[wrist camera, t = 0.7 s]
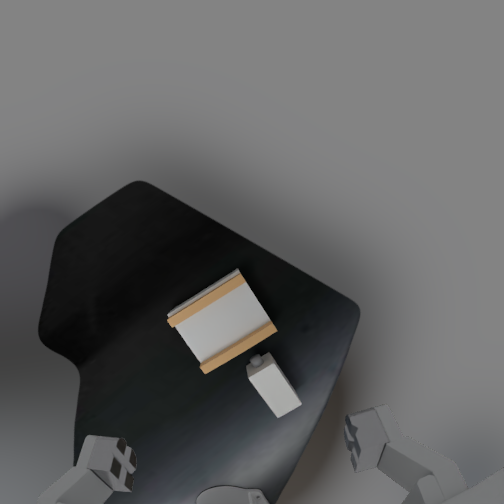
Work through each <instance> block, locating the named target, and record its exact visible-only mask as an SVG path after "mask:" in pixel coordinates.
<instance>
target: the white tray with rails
mask: <svg viewBox="0 0 504 504" xmlns="http://www.w3.org/2000/svg"><path fill="white" fill-rule="evenodd" d="M168 317H169V318H168V319H167V321H168V322H169V324H170V325H171V327H172V328H173V327H174V326H175V327H176V329H177V330H178V331H179V333H180V334H181V336H182V337H183V339H184V340H185V342H186V343H187V345H188V346H189V347H190V349H191V350H192V352H193V353H194V354H195V356H196V357H197V359H198V360H199V361H200V363H201V364H200V368H201V369H202V371H203V372H204V373H205V374H206V373H208V372H210V371H212V370H213V369H215V368H217V367H219V366H220V365H222V364H224V363H226V362H227V361H229V360H231V359H232V358H234V357H236V356H237V355H239V354H241V353H242V352H244V351H246V350H247V349H249V348H251V347H252V346H254V345H256V344H257V343H259V342H260V341H262V340H264V339H265V338H267V337H268V336H270V335H272V334H273V333H275V332H276V331H277V329H276V328H275V326H274V325H273V323H272V322H271V320H270V318H269V317H268V315H267V314H266V312H265V311H264V309H263V308H262V306H261V304H260V303H259V301H258V300H257V298H256V297H255V295H254V294H253V292H252V290H251V289H250V287H249V286H248V284H247V283H246V281H245V279H244V278H243V276H242V275H241V273H240V271H239V270H238V269H236V270H234V271H233V272H231V273H230V274H228V275H226V276H225V277H223V278H222V279H220V280H219V281H217V282H215V283H214V284H212V285H211V286H209V287H207V288H206V289H204V290H203V291H201V292H199V293H198V294H196V295H195V296H193V297H191V298H190V299H188V300H187V301H185V302H183V303H182V304H180V305H179V306H177V307H175V308H174V309H172V310H171V311H170V312H169V313H168Z"/></svg>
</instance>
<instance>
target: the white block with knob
mask: <svg viewBox="0 0 504 504" xmlns="http://www.w3.org/2000/svg"><path fill="white" fill-rule="evenodd" d="M250 362H251V363H250V364H248V365H246V368H247V374H248V378H249V380H250V381H251V382H252V384H253V385H254V387H255V388H256V389H257V391H258V392H259V393H260V395H261V396H262V398H263V399H264V400H265V402H266V403H267V404H268V406H269V407H270V408H271V410H272V411H273V412H274V414H275V415H276V416H277V418H279V417H281V416H283V415H284V414H286V413H288V412H290V411H291V410H293V409H295V408H297V407H298V406H300V405H302V403H301V401H300V399H299V397H298V395H297V393H296V391H295V390H294V388H293V387H292V385H291V384H290V382H289V381H288V379H287V378H286V376H285V375H284V373H283V372H282V370H281V369H280V367H279V366H278V364H277V363H276V361H275V360H274V358H273V357H272V355H271V354H270V352H268V353H267V354H265V355H263V356H262V357H261V356H260V355H259V354H256V355H254V356H252V357H251V358H250Z"/></svg>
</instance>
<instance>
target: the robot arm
mask: <svg viewBox="0 0 504 504" xmlns="http://www.w3.org/2000/svg"><path fill="white" fill-rule="evenodd" d="M345 421H346V424H347V425H346V426H345V428H344V437H345V442H346V446H347V449H348V450H349V451H351V452H352V454H351V462H352V465H353V468H354V471H355V473H357V472H361V471H364V470H368V469H372V468H375V467H377V468H378V469H379V470H381V471H382V472H383V473H384V474H386V475H387V476H388V477H390V478H391V479H392V480H394V481H395V482H396V483H398V484H399V485H401V486H402V487H403V488H405V489H406V490H407V491H409V492H410V493H409V494H408V496H407V497H406V498H405V500H404V501H403V503H402V504H504V467H503V468H502V469H500V470H499V471H497V472H496V473H494V474H492V475H491V476H490V477H488V478H486V479H484V480H483V481H481V482H479V483H478V484H476V485H474V486H472V487H471V488H468V486H467V484H466V483H465V480H464V479H463V477H462V474H461V472H460V471H459V469H458V467H457V465H456V463H455V462H454V461H452V460H450V459H448V458H446V457H445V456H443V455H441V454H439V453H437V452H435V451H433V450H431V449H430V448H428V447H426V446H424V445H423V444H421V443H419V442H417V441H415V440H413V439H412V438H410V437H408V436H407V437H404V436H403V434H402V432H401V430H400V428H399V426H398V424H397V422H396V420H395V418H394V416H393V414H392V411H391V409H390V408H389V406H388V405H387V404H384V405H380V406H377V407H374V408H369V409H366V410H363V411H359V412H356V413H352V414H348V415H347V416H346V419H345ZM126 444H127V442H126V441H125V440H124V438H116V437H103V436H93V435H88V436H87V437H86V438H85V441H84V444H83V447H82V450H81V453H80V456H79V459H78V462H77V466H76V467H72V468H71V469H70V470H69V471H68V472H66V473H65V474H64V475H63V476H62V477H61V478H59V479H58V480H57V481H56V482H55V483H54V484H52V485H51V486H50V487H49V488H48V489H47V490H45V491H44V492H43V493H42V494H41V495H39V498H38V502H37V504H103V503H104V502H105V501H106V500H107V498H108V497H109V496H110V495H111V494H112V492H113V490H115V491H125V492H132V488H133V482H134V478H133V476H132V473H133V472H134V471H135V470H136V465H137V461H136V455H135V453H134V451H133V450H132V449H131V448H130V447H128V446H126ZM196 504H269V502H268V501H267V499H266V498H265V496H264V495H263V493H262V491H261V490H259V489H242V488H238V487H232V486H220V487H214V488H210V489H208V490H206V491H204V492H202V493H201V494H200V495H199V496H198V497H197V500H196Z"/></svg>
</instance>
